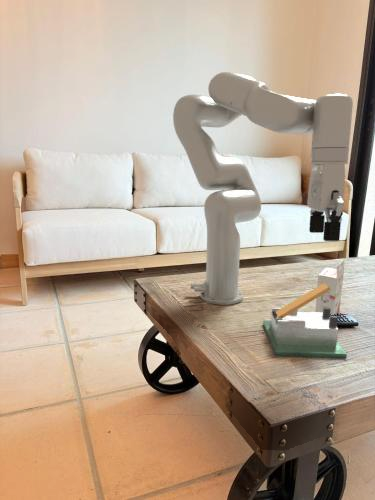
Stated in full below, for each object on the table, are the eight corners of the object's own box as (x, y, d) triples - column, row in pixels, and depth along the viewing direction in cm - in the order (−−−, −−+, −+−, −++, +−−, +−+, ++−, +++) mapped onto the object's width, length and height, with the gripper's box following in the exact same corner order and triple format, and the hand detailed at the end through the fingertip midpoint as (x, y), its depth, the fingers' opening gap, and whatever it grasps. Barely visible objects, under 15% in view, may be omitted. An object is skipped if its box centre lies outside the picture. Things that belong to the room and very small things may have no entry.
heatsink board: (275, 356, 84) (277, 325, 82) (263, 324, 99) (264, 298, 97) (346, 358, 83) (350, 327, 82) (323, 325, 99) (325, 299, 97)
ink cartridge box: (321, 306, 111) (326, 256, 108) (339, 310, 109) (345, 259, 105) (313, 316, 104) (318, 263, 101) (333, 321, 102) (339, 266, 98)
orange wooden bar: (279, 319, 89) (277, 317, 88) (277, 314, 91) (275, 311, 91) (330, 290, 87) (328, 287, 86) (325, 285, 89) (324, 282, 89)
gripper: (300, 157, 92) (296, 229, 96) (325, 157, 75) (319, 244, 79) (332, 157, 92) (326, 229, 96) (364, 156, 75) (356, 244, 79)
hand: (323, 236), depth 87 cm, fingers open, 9 cm apart
